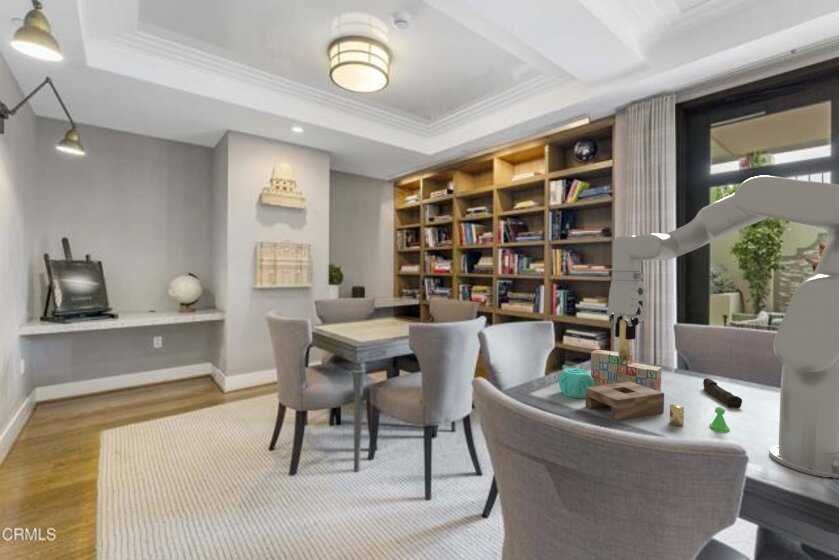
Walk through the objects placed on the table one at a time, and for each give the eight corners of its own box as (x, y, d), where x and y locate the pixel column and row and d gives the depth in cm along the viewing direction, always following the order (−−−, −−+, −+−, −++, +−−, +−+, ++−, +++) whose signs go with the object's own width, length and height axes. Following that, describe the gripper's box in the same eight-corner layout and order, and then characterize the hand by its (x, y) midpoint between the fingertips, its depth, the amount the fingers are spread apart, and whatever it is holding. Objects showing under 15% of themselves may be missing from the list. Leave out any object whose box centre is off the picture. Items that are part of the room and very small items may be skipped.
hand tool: (742, 409, 118) (743, 394, 118) (727, 408, 119) (727, 393, 119) (713, 390, 136) (713, 377, 136) (700, 389, 137) (700, 376, 137)
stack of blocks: (661, 394, 132) (662, 358, 131) (656, 398, 127) (657, 361, 127) (596, 380, 147) (597, 348, 146) (590, 384, 142) (590, 351, 142)
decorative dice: (558, 392, 134) (558, 369, 133) (576, 389, 136) (576, 367, 136) (574, 399, 126) (575, 375, 126) (593, 396, 129) (594, 373, 129)
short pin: (686, 425, 106) (686, 407, 106) (677, 427, 105) (678, 409, 105) (675, 421, 109) (675, 403, 109) (666, 422, 108) (667, 405, 108)
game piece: (708, 428, 104) (708, 406, 104) (710, 424, 107) (711, 402, 107) (728, 433, 101) (729, 411, 100) (730, 428, 104) (731, 406, 103)
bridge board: (663, 412, 115) (664, 393, 114) (616, 421, 109) (617, 400, 109) (629, 399, 126) (630, 381, 126) (585, 406, 120) (585, 387, 120)
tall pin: (632, 360, 116) (634, 320, 115) (624, 361, 115) (625, 321, 114) (624, 357, 119) (625, 319, 118) (615, 358, 118) (617, 319, 117)
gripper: (661, 278, 109) (659, 342, 110) (614, 276, 125) (612, 332, 125) (641, 278, 107) (639, 344, 107) (595, 276, 122) (594, 334, 123)
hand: (625, 337), depth 116 cm, fingers closed on tall pin, 3 cm apart
